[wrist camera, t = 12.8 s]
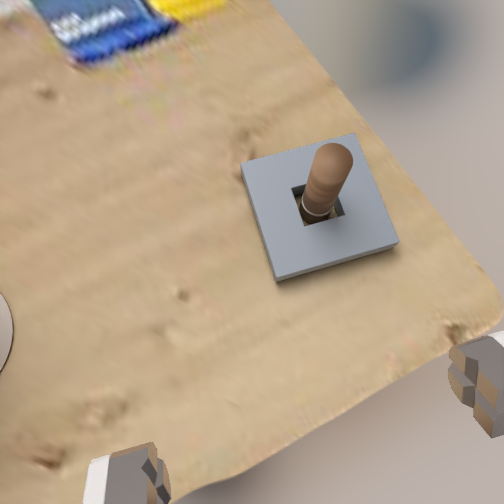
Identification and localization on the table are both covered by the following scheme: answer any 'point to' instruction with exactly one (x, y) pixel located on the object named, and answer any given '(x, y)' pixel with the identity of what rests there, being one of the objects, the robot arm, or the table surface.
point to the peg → (325, 181)
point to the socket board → (323, 233)
